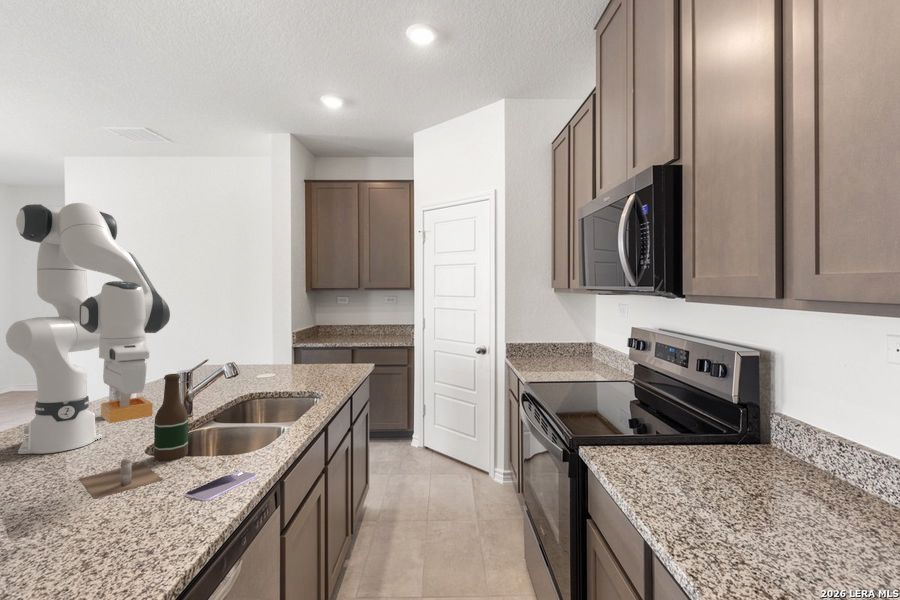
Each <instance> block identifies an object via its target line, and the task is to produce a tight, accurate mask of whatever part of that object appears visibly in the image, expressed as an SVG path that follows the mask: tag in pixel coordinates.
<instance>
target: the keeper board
mask: <svg viewBox="0 0 900 600" xmlns="http://www.w3.org/2000/svg"><path fill="white" fill-rule="evenodd" d="M78 480H79V481H80V483H82V486H84V488H85V489H86V491H87V492H88V493H89V494H90V496H91V497H92V498H93V499H94V500H97V499H101V498H105V497H108V496H111V495H114V494H119V493H122V492H126V491H129V490H133V489H137V488H140V487H144V486H148V485H151V484H154V483H159V482H162V481H164V479H163V478H162V477H161V475H159V474H157V473H156V472H155V471H154V470H152V469H151V468H150V467H149V466H148V465H146V464H145V463H144V462H141V463H137V464H134V465H133V464H132V459H131V458H129V457H126V458H123V459H122V460H121V461H120V468H116V469H113V470H109V471H103V472H99V473H95V474H93V475H88V476H84V477H79V478H78Z"/></svg>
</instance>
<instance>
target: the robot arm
mask: <svg viewBox="0 0 900 600" xmlns="http://www.w3.org/2000/svg"><path fill="white" fill-rule="evenodd" d="M15 224H16V228H17V230H18V233H19V235H20V236H21V237H22V238H23V239H25V240H27V241H29V242H34V243H39V246H38V253H37V261H36V282H37V283H36V290H37V295H38V297H39V298H40V299H41V300H42V301H44V302H46V303H48V304H50V305H52V306H53V307H54V309H56V311H57V315H58V316H37V317H32V318H26V319H21V320H18V321H15V322H13V323H12V324H11V325H10V326H9V328H8V329H7V331H6V334H5V342H6V345H7V347H8V348H9V350H10V351H12V352H13V353H15V354H16V355H17V356H20V357H22V358H23V359H25V360H26V361H27V362H28V364H30V366H31V368H32V370H33V371H34V374H35V377H36V390H37V393H36V395H37V401H35V404H34V414H35V416H34V418H33V419H31V421H30V422H28V425H26V426H24V427H23V434H24V435H26V436H25V438H24V440H23V441H22V443H21V445H20V447H19V448H18V451H17V454H18V455H26V454H54V453H59V452H60V453H61V452H65V451H70V450H75V449H78V448H82V447H85V446H88V445H90V444H91V443H93V442H96V441H98V440H101V439H103V434H101V433H98V432H96V415H95V413H94V412H93V411H90V409H89V408H90V407H89V405H90V404H89V403H90V399H89V395H88V389H87V388H88V373H87V371H86V370H85V369H84V368H83V367H81V366H79V365H77V364H73V363H72V362H71V360H70V359H69V353H73V352H75V353H76V352H82V351H83V352H84V351H90V350H93V349H97V348H98V358H100V359H103V370H102V371H103V373H102V378H103V383H104V384H105V385H107V386H111V387H113V388H114V394H115V399H116V401H117V400H119V407H125V406H129V400H130V398H131V394H135V393H136V394H139V393H143V392H144V389H145V388H146V387H145V386H146V379H147V368H148V367H147V364H148V363H147V360H148V359H150V350H149V348H148V347H147V342H146V341H147V340H146V338H147V334H157V333H158V332H159V331H161V330H162V329H164V328H165V326H166V325H167V324H168V323H169V322H170V318H171V311H170V307H169V305H168V303H167V302H166V301H165V299H164V298H163V297H162V296H161V295H160V294H159V293H158V291H157V290H156V288H155V286H154V285H153V283H152V281H151V280H150V279H149V277H148V275H147V274H146V272H145V270H144V268H143V267H142V265H141V264H140V262H139V261H138V259H137V258H136V257H135V255H134V254H132V253H131V252H129V251H127V250H125V249H124V247H122V246H121V245H120V244H119V243H117V241H116V239H117V235H118V231H119V230H118V226H117V225H118V224H117V221H116V219H115V217H114V216H113V215H111V214H109V213H106V212H104V211H99V209H97V208H96V207H94V206H93V205H90V204H87V203H84V202H72V203H69V204H67V205H64V206H58V205H43V204H37V203H36V204H27V205H24V206H22V207H21V208H20V210H19V212H18V213H17V215H16V217H15ZM87 270H88V271H93V272H97V273H102V274H106V275H110V276H112V277H114V278H117V279H119V281H115V280H114V281H108V282H104V284H103V285H102V286H101V291H100V292H99V293H98V294H97V295H94V296H89V294H88V283H87V282H88V281H87ZM100 438H101V439H100ZM97 439H98V440H97ZM95 440H96V441H95Z"/></svg>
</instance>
